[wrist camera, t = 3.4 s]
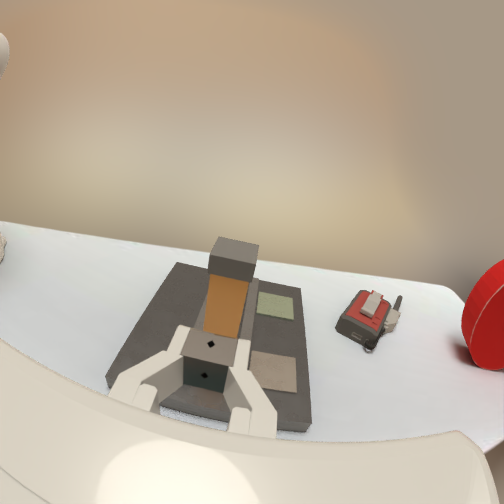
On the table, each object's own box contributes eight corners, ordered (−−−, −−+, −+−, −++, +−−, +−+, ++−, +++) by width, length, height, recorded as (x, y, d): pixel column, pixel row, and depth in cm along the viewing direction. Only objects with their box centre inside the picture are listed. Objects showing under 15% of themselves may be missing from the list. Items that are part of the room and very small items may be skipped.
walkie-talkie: (379, 362, 34) (402, 304, 49) (394, 340, 32) (411, 286, 47) (328, 334, 38) (365, 286, 53) (339, 311, 36) (373, 267, 51)
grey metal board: (108, 387, 23) (101, 363, 21) (176, 272, 44) (177, 250, 43) (304, 432, 23) (319, 412, 21) (297, 298, 45) (303, 277, 43)
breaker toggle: (196, 367, 26) (209, 254, 20) (204, 344, 29) (218, 236, 23) (230, 375, 26) (255, 264, 20) (235, 351, 29) (259, 245, 23)
